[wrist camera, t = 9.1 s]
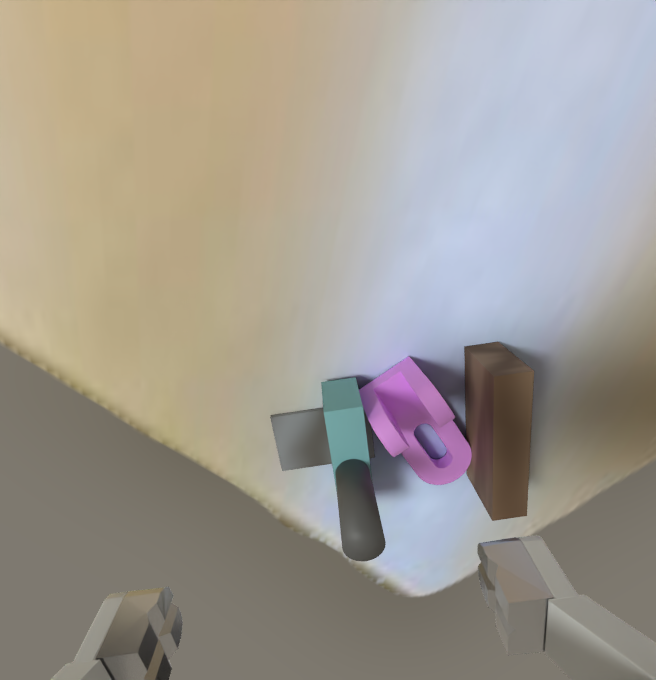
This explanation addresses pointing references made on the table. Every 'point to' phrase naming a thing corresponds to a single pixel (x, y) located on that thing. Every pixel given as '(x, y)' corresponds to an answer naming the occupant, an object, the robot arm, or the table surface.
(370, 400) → the bracket
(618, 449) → the table surface
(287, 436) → the base
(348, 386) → the clamp jaw
